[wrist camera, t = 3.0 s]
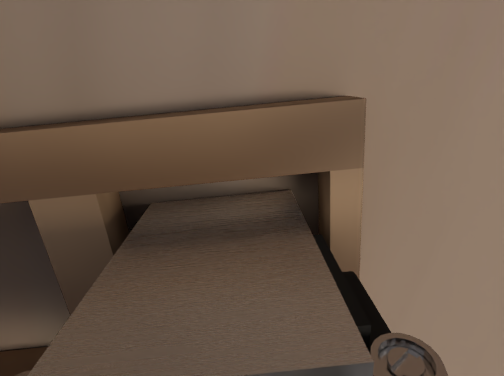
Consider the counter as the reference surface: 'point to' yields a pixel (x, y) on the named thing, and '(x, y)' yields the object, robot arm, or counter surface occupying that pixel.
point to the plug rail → (175, 176)
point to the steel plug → (213, 299)
